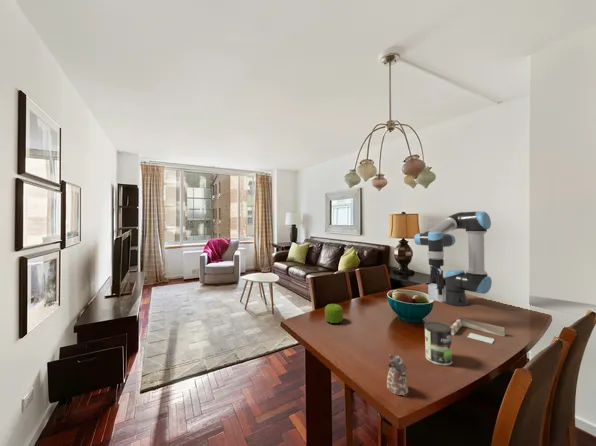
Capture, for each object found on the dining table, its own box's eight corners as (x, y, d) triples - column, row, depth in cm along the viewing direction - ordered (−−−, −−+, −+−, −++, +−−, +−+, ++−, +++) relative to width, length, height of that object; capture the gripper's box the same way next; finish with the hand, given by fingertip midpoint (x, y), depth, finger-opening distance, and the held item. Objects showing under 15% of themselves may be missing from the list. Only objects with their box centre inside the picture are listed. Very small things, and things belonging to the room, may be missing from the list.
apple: (347, 322, 148) (346, 304, 148) (333, 327, 142) (333, 308, 142) (334, 316, 158) (333, 299, 158) (321, 321, 152) (320, 303, 152)
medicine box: (446, 301, 139) (445, 285, 139) (441, 302, 137) (441, 287, 137) (432, 297, 146) (432, 283, 146) (428, 299, 144) (427, 284, 144)
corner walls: (459, 324, 141) (459, 317, 141) (504, 335, 126) (504, 327, 126) (450, 334, 129) (450, 326, 129) (499, 347, 115) (499, 339, 115)
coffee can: (458, 361, 105) (457, 328, 104) (441, 368, 100) (440, 333, 100) (435, 350, 114) (435, 320, 114) (419, 355, 110) (419, 324, 110)
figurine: (404, 399, 84) (403, 363, 84) (383, 390, 88) (383, 356, 88) (411, 388, 89) (410, 355, 89) (391, 380, 94) (390, 348, 94)
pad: (470, 333, 130) (470, 332, 130) (494, 339, 122) (494, 338, 122) (467, 337, 126) (467, 336, 126) (492, 343, 118) (492, 343, 118)
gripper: (423, 255, 153) (424, 292, 153) (435, 261, 132) (436, 303, 132) (436, 255, 151) (437, 292, 152) (450, 261, 130) (451, 304, 131)
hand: (437, 297), depth 142 cm, fingers closed on medicine box, 9 cm apart
